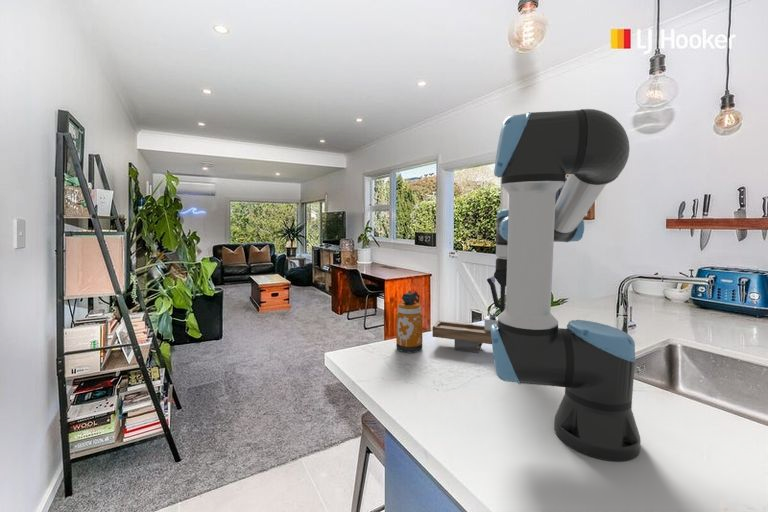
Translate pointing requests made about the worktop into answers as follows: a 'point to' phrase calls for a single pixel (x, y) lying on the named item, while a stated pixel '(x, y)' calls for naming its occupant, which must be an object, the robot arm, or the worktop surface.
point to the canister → (409, 324)
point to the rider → (490, 322)
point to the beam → (463, 335)
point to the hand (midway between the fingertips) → (506, 328)
